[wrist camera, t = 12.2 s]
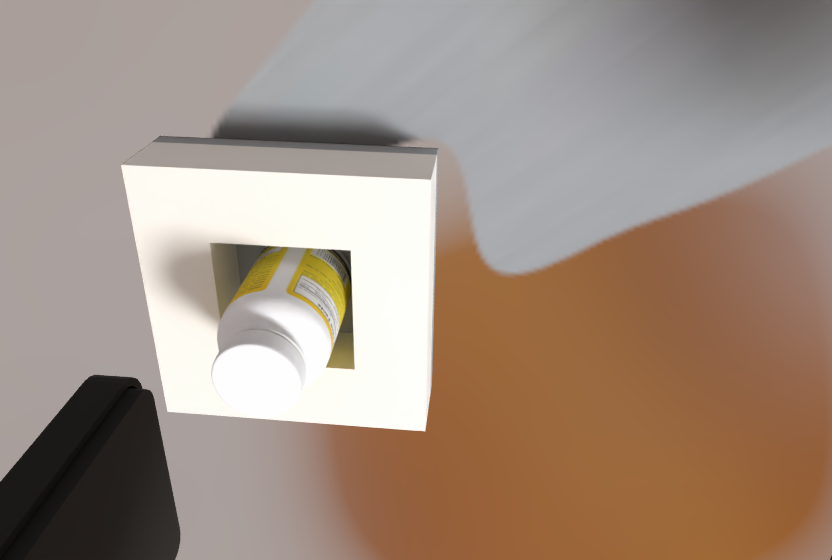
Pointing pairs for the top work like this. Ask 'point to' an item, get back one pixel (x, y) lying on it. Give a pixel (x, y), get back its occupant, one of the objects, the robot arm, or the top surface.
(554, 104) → the top surface
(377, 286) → the sleeve holder
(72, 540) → the robot arm
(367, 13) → the top surface
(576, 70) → the top surface
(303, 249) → the supplement bottle
